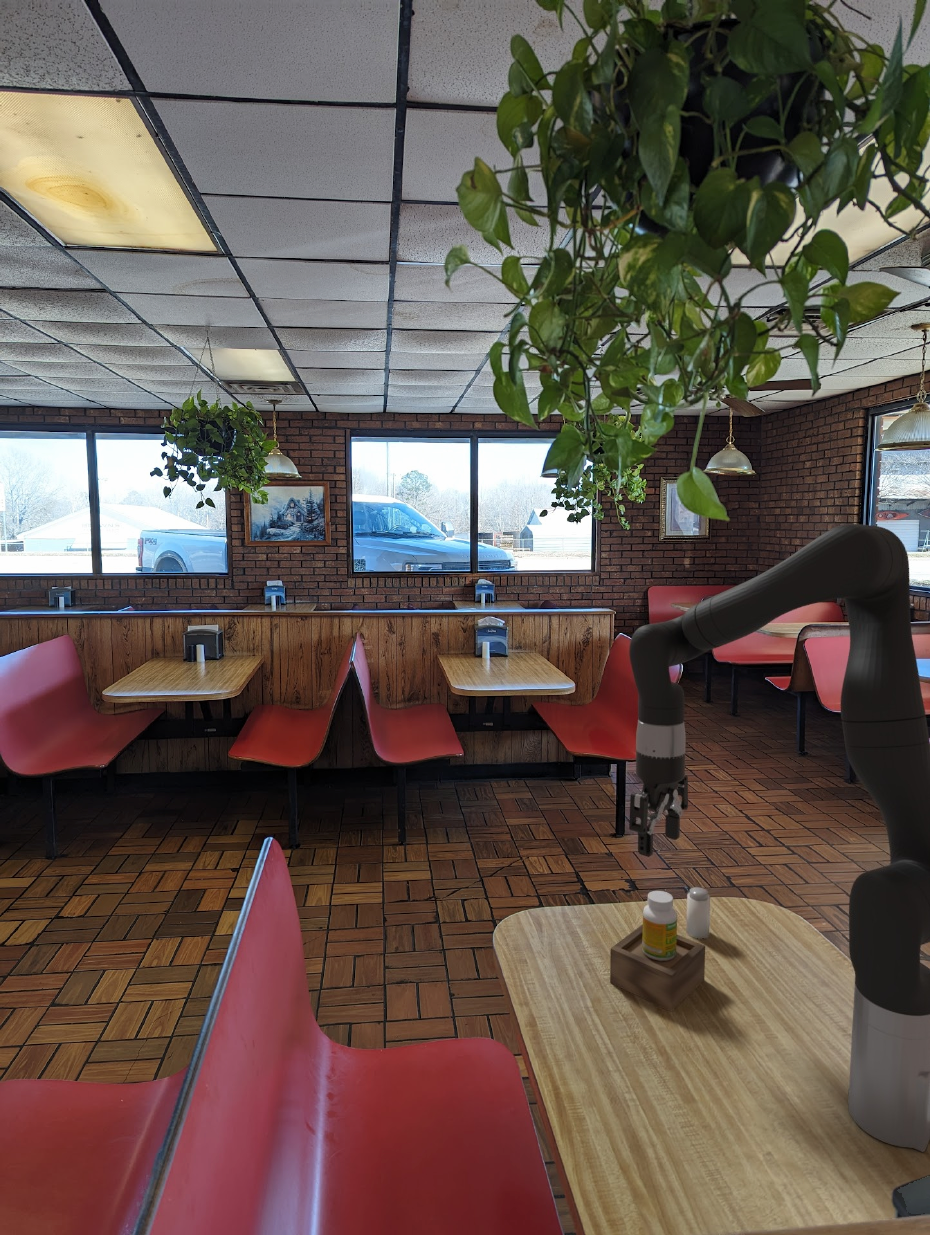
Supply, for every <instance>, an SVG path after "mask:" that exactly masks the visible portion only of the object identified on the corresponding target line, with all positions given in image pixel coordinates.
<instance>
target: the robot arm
mask: <svg viewBox="0 0 930 1235" xmlns="http://www.w3.org/2000/svg"><path fill="white" fill-rule="evenodd" d="M909 561H910V560H909V555H908V551H907V550H906V546H905V544H904V543H903V542H902V540H901V539H900V538H899V537H898V535H896V533H894V532H893V531H891V530H889V529H887V528H885V527H882V526H878V525H870V524H861V523H860V524H858V523H846V524H842V525H838V526H834V527H832V528H830V529H829V530H827V531H826V532H824V533H823V534H821V535H820V536H818V537H816V538H815V539H814V540H811V541H810V542H809V543H807V544H806V545H804V546H803V547H802V548H800V549H799V550H798V551H796V552H794V553H793V554H792V555H790V556H788V557H787V558H786V559H784V560H782V561H781V562H779V563H777V564H776V565H774V566H773V567H771V568H770V569H767V570H765V571H764V572H762V573H761V574H759V575H757V576H755V577H753V578H751V579H749V580H746V581H744V582H743V583H740V584H738V585H736V586H734V587H731V588H729V589H726V590H724V591H722V592H721V593H718V594H715V595H714V596H712V597H710V598H707V599H705V600H702V601H700V602H698V603H696V604H695V605H693V606H691V607H690V608H688V609H686V611H685V612H684V614H682V615H680V616H677V617H676V618H675V617H674V618H673V619H670V620H666V621H661V622H654V623H650V624H645V625H642V626H640V627H638V628H637V629H636V630H635V631H634V633H633V635H632V636H631V639H630V642H629V646H628V647H629V650H628V656H629V661H630V666H631V669H632V675H633V679H634V682H635V686H636V689H637V693H638V699H637V709H638V711H637V719H638V720H637V727H636V733H635V734H636V736H635V737H636V738H635V740H636V742H635V748H636V749H635V750H636V751H635V774H636V777H637V778H638V779H640V780H641V781H642V783H643V784H642V787H641V788H642V790H641V792H640V793H639V792H632V793H631V794H630V798H629V819H628V820H629V824H628V826H629V827H628V828H629V829H628V830H629V831H633V832H635V833H637V853H638V854H639V855H640V856H644V857H647V858H649V857H651V856H653V855H654V854H653V853H654V850H653V849H654V833H653V832H654V830H655V826H656V823H659V821H661V818H662V815H663V813H664V812H665V813H666V814H665V820H664V821H665V826H664V828H665V830H664V831H665V832H664V833H665V837H666V838H667V839H670V840H674V841H677V840H678V839H679V838H680V837H681V836H680V832H681V829H680V824H681V818H682V816H683V813H684V811H687V810H688V807H689V784H688V783H689V778H688V776H689V775H687V774H686V743H687V742H686V739H687V738H686V736H687V735H686V729H685V727H686V726H685V702H686V701H685V692H684V688H683V687H682V686H681V685H680V684H678V683H677V682H675V681H672V678H671V673H670V667H675V666H678V665H681V664H684V663H686V662H687V663H688V661H691V660H694V659H696V658H698V657H700V656H701V655H703V654H705V653H706V652H708V651H710V650H713V649H717V648H720V647H722V646H725V645H727V644H731V643H733V642H735V641H738V640H740V639H742V638H745V637H747V636H748V635H751V634H753V633H755V632H757V631H758V630H760V629H762V628H763V627H765V626H766V625H768V624H770V623H771V622H772V621H774V620H775V619H777V618H779V617H781V616H783V615H785V614H788V613H789V612H792V611H794V610H798V609H800V608H802V607H806V606H809V605H814V604H818V603H819V604H820V603H822V602H827V601H831V600H836V599H843V601H844V604H845V610H846V615H847V616H846V617H847V621H848V622H847V623H848V627H849V651H848V657H847V662H846V666H845V671H844V672H845V673H844V677H843V681H842V687H841V694H840V718H841V725H842V726H841V727H842V733H843V739H844V745H845V746H844V747H845V752H846V757H847V760H848V762H849V765H850V766H851V768H852V770H853V772H854V774H855V775H856V776H857V778H858V779H859V781H860V783H861V785H863V787H864V788H865V790H866V791H867V793H868V795H869V796H870V797H871V798H872V800H873V801H874V802H875V805H876V806H877V807H878V809H879V811H880V813H881V815H882V818H883V821H884V825H885V828H886V834H887V838H888V845H889V856H890V857H889V859H890V864H888V865H885V866H881V867H878V868H875V869H871V870H868V871H864V872H863V873H861V874H859V875H858V876H857V877H856V879H855V880H854V882H853V884H852V886H851V889H850V894H849V900H848V901H849V902H848V951H849V958H850V962H851V965H852V967H853V970H854V988H853V989H854V990H853V991H854V993H853V1008H852V1009H853V1010H852V1027H851V1043H850V1044H851V1045H850V1046H851V1047H850V1062H849V1064H850V1066H849V1081H848V1082H849V1083H848V1084H849V1085H848V1095H847V1096H848V1102H847V1105H848V1106H847V1107H848V1111H849V1114H850V1117H851V1118H852V1120H853V1121H854V1122H855V1123H856V1124H857V1125H858V1127H860V1128H861V1129H862V1130H863V1131H864V1132H865V1133H867V1134H868V1135H870V1136H871V1137H873V1138H874V1139H876V1140H879V1141H881V1142H883V1143H886V1144H889V1145H891V1146H894V1147H899V1148H910V1149H915V1150H917V1151H919V1152H922V1153H924V1152H925V1151H926V1150H927V1147H928V1144H929V1143H930V967H928V966H927V965H925V964H924V963H922V962H921V948H922V947H921V946H922V945H926V944H928V943H929V944H930V735H929V729H928V722H927V716H926V710H925V704H924V700H923V693H922V687H921V681H920V674H919V669H918V662H917V656H916V651H915V646H914V640H913V635H912V634H913V632H912V623H911V595H910V593H911V590H910V589H911V588H910V586H911V584H910V562H909ZM680 797H681V799H680ZM651 812H652V813H651ZM648 820H649V821H648Z"/></svg>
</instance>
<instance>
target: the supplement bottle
mask: <svg viewBox="0 0 930 1235" xmlns="http://www.w3.org/2000/svg"><path fill="white" fill-rule="evenodd" d="M646 903H647V904H646V905H645V906H644V908H643V910H642V911H643V912H642V924H643V937H642V950H643V952H644V954H645V955H646V956H647V957H649V958H651V959H654V960H658V961H668V960H671V959H673V958H674V957H675V955H676V943H677V935H678V932H677V931H678V912H677V911H676V909H675V907H674V897H673V895H672V894H670V893H669V892H666V891H663V890H653V891H650V892H648V894H647V902H646Z"/></svg>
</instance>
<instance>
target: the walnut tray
mask: <svg viewBox="0 0 930 1235" xmlns="http://www.w3.org/2000/svg"><path fill="white" fill-rule="evenodd" d="M642 937H643V923H642V924H641V925H640V926H638V927H637V928H636V929H634V930H633V931H631V932H630V933H629V934H628V935H626V936H625V937H624V938H623V939H621V940H619V941H618V942H616V944H615V945H613V946H612V947H610V954H609V956H610V960H609V961H610V964H609V965H610V967H609V970H610V973H609V974H610V976H609V978H610V980H609V983H610V984H612V985H614V986H616V987H618V988H620V989H623V990H625V991H627V992H629V993H631V994H633V995H636V996H638V997H639V998H641V999H643V1000H645V1001H648V1002H650V1003H652V1004H654V1005H656V1006H658V1007H661V1008H662V1009H665V1010H666V1011H668V1012H671V1013H672V1011H674V1010H675V1009H676V1008H678V1006H679V1005H680V1004H681V1003H682V1002H684V1000H685V999H686V998H687V997H688V996H690V994H691V993H693V991H695V990H696V989H697V988H698V986H700V985H701V984H702V983H703V982H704V981H705V972H706V968H705V966H706V945H704V944H701V943H700V942H697V941H695V940H692V939H689V938H687V937H684V936H682V935H679V934H677V943H676V955H675V957H674V958H673V959H671V960H668V961H658V960H654V959H651V958H649V957H647V956H646V955H645V954H644V952H643V950H642Z"/></svg>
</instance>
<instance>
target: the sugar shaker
mask: <svg viewBox="0 0 930 1235" xmlns="http://www.w3.org/2000/svg"><path fill="white" fill-rule="evenodd" d="M686 899H687V900H686V934H687V935H688V934H689V935H688V936H689V937H691V938H693V939H697V938H698V939H699V940H702V938H704V939H707V938H708V937H709V936H710V924H711V923H710V922H711V921H710V919H711V918H710V917H711V896H710V895H709V891H708V889H705V888H703V887H700V886H699V887H698V886H696V887H695V886H694V887H692V888H690V889H689V892H687V896H686ZM698 939H697V940H698Z"/></svg>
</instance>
